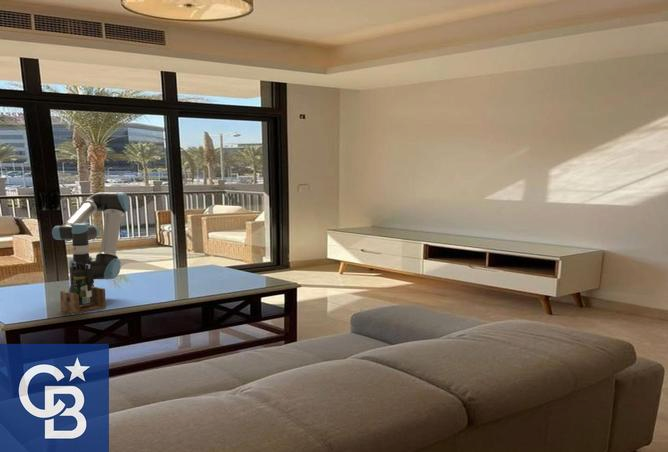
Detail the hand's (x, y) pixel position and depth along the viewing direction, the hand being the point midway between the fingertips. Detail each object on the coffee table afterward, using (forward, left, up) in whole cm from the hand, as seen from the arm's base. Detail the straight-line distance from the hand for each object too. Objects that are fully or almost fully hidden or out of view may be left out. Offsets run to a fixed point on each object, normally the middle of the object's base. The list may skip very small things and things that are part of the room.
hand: (83, 295), depth 266 cm
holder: (0, 0, -7) cm, 7 cm away
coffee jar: (0, 0, -4) cm, 4 cm away
